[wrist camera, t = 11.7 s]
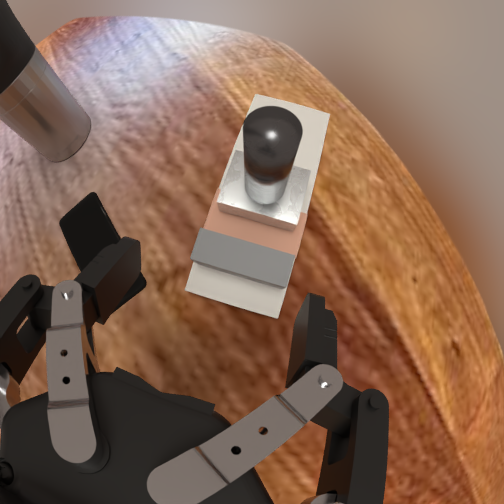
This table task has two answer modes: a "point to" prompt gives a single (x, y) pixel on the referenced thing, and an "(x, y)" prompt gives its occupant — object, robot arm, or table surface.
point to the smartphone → (93, 236)
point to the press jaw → (267, 171)
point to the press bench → (255, 234)
